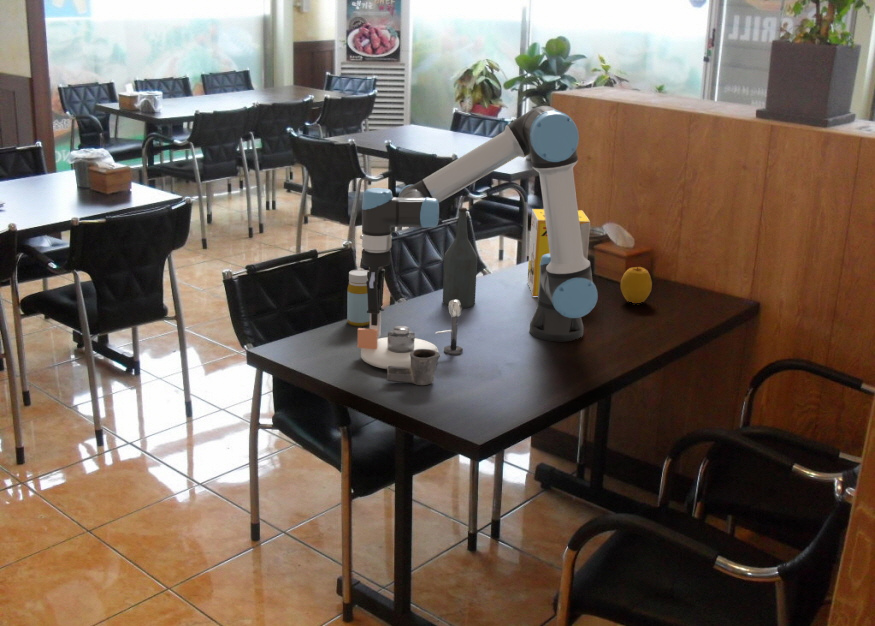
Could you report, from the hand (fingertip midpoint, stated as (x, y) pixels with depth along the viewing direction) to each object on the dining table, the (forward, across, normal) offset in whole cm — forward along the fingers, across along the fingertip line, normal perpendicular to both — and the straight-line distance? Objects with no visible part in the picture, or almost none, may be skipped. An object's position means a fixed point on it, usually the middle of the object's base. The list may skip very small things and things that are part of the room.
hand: (375, 335), depth 256 cm
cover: (+2, +4, +8) cm, 9 cm away
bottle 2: (+4, -45, +17) cm, 48 cm away
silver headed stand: (+4, -3, +19) cm, 20 cm away
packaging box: (+4, -66, +46) cm, 80 cm away
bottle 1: (+4, -20, -8) cm, 23 cm away
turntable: (+3, +5, +7) cm, 9 cm away
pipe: (+4, +20, +14) cm, 25 cm away
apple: (+4, -59, +71) cm, 93 cm away
